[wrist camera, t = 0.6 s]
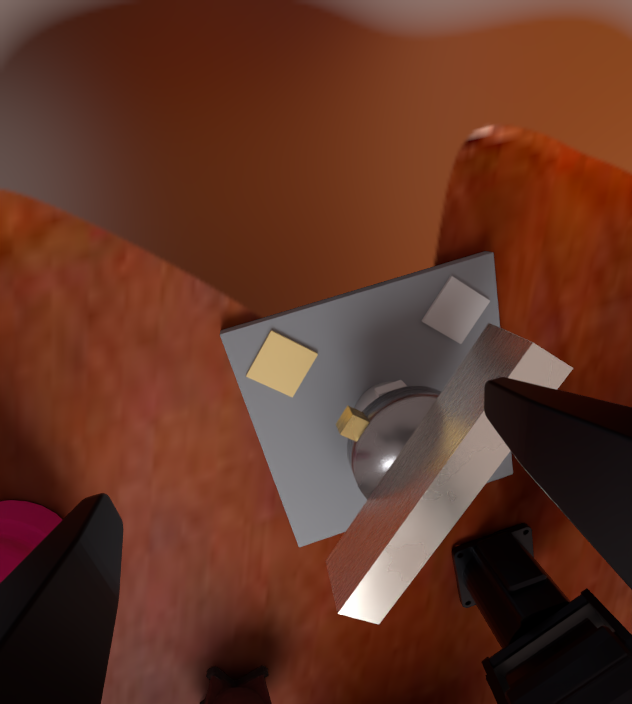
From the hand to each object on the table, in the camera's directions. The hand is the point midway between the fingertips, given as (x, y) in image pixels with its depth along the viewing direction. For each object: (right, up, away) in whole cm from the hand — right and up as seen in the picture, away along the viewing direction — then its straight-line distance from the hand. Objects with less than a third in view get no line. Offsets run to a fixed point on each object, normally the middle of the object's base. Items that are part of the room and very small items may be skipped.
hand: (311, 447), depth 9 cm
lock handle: (+5, -3, +12) cm, 13 cm away
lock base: (+4, -1, +16) cm, 17 cm away
